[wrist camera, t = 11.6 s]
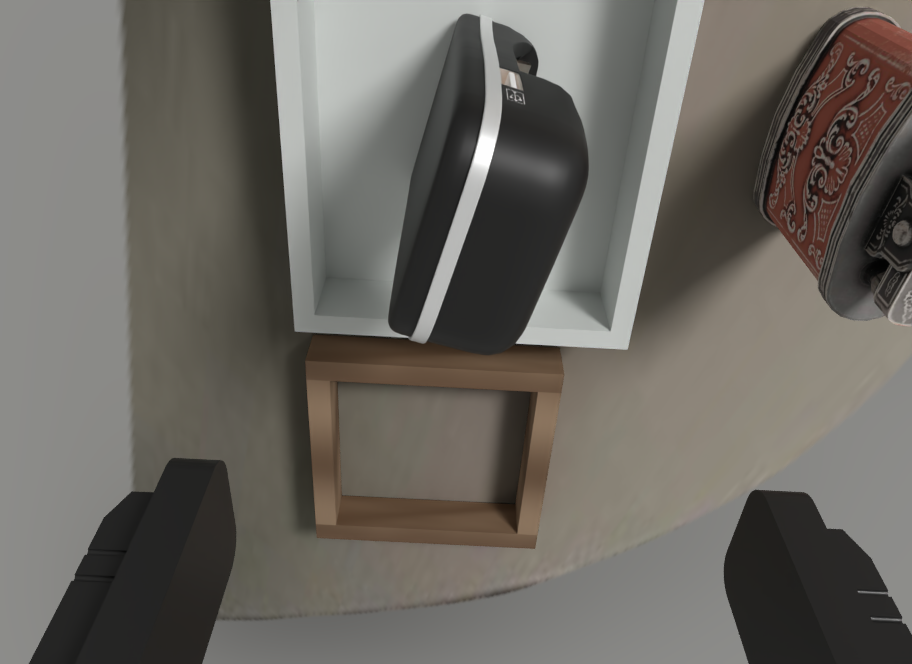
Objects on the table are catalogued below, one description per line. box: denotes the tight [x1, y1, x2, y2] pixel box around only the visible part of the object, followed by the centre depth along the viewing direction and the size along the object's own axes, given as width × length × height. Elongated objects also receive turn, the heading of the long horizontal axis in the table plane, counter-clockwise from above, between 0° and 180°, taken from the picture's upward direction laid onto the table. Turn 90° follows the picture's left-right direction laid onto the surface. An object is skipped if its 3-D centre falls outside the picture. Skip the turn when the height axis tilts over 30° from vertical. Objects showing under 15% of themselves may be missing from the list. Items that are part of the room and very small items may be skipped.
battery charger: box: [388, 13, 589, 355], centre depth 23 cm, size 7×4×11 cm, turn 163°
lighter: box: [754, 7, 912, 326], centre depth 24 cm, size 8×3×10 cm, turn 171°
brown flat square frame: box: [305, 334, 564, 549], centre depth 36 cm, size 11×11×2 cm
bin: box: [270, 0, 705, 350], centre depth 27 cm, size 16×13×4 cm
